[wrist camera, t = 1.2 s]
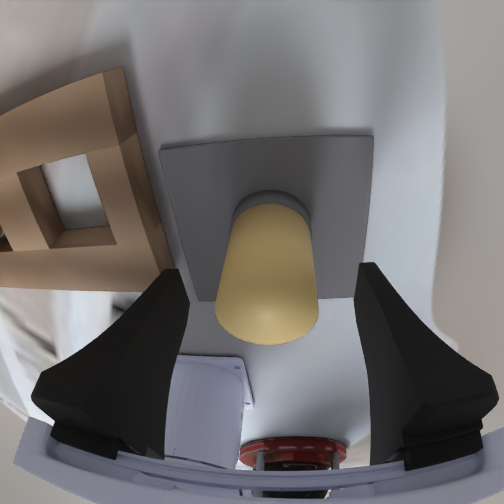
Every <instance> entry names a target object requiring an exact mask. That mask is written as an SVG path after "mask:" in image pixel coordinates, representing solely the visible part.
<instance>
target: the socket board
mask: <svg viewBox="0 0 504 504" xmlns="http://www.w3.org/2000/svg"><path fill="white" fill-rule="evenodd" d="M84 153H85V154H86V157H87V161H88V164H89V167H90V170H91V173H92V176H93V179H94V182H95V185H96V188H97V191H98V194H99V197H100V200H101V203H102V206H103V208H104V211H105V214H106V217H107V219H108V222H109V225H110V226H103V227H92V228H82V229H72V230H65V229H64V227H63V225H62V222H61V220H60V218H59V215H58V213H57V211H56V208H55V206H54V203H53V201H52V198H51V196H50V193H49V191H48V188H47V185H46V183H45V180H44V177H43V174H42V172H41V169H40V166H39V165H42V164H46V163H49V162H53V161H57V160H60V159H64V158H68V157H72V156H76V155H80V154H84ZM0 225H1V227H2V229H3V231H4V233H5V235H6V237H2V238H0V287H11V288H29V289H51V290H78V291H117V292H144V291H145V290H146V289H147V288H148V287H149V286H150V284H151V283H152V282H153V281H154V280H155V279H156V278H157V277H158V276H159V274H160V273H161V272H162V271H163V270H164V269H175V266H174V263H173V259H172V256H171V253H170V250H169V247H168V244H167V240H166V237H165V234H164V231H163V227H162V224H161V220H160V217H159V214H158V210H157V207H156V203H155V200H154V196H153V192H152V189H151V185H150V182H149V178H148V174H147V170H146V166H145V163H144V159H143V155H142V151H141V147H140V143H139V138H138V134H137V130H136V126H135V121H134V117H133V112H132V108H131V103H130V99H129V94H128V89H127V84H126V79H125V74H124V69H123V67H120V68H116V69H112V70H109V71H105V72H102V73H99V74H96V75H93V76H90V77H87V78H84V79H82V80H79V81H76V82H73V83H71V84H68V85H66V86H63V87H61V88H58V89H56V90H53V91H51V92H49V93H46V94H44V95H42V96H40V97H37V98H35V99H33V100H31V101H29V102H27V103H25V104H22V105H20V106H18V107H16V108H14V109H12V110H10V111H9V112H7V113H5V114H3V115H1V116H0Z"/></svg>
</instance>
